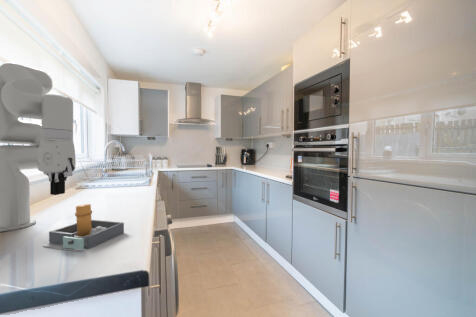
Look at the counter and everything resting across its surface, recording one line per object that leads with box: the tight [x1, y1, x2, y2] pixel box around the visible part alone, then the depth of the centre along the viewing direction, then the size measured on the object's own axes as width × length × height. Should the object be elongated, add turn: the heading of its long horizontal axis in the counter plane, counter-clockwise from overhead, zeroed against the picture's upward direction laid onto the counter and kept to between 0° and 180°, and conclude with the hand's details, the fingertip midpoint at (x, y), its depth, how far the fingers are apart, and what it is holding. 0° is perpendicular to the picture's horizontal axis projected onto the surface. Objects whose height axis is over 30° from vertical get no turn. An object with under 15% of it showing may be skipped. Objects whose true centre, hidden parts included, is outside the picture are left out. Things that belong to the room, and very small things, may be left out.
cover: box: [62, 236, 85, 250], centre depth 62 cm, size 7×1×3 cm, turn 75°
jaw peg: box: [74, 203, 93, 237], centre depth 71 cm, size 5×5×10 cm
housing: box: [42, 219, 125, 253], centre depth 70 cm, size 16×15×4 cm
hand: (57, 193), depth 68 cm, fingers closed
